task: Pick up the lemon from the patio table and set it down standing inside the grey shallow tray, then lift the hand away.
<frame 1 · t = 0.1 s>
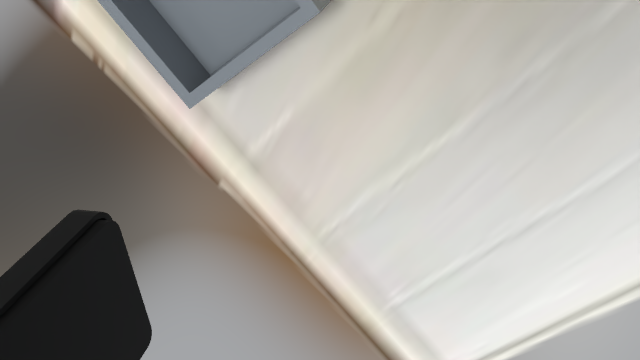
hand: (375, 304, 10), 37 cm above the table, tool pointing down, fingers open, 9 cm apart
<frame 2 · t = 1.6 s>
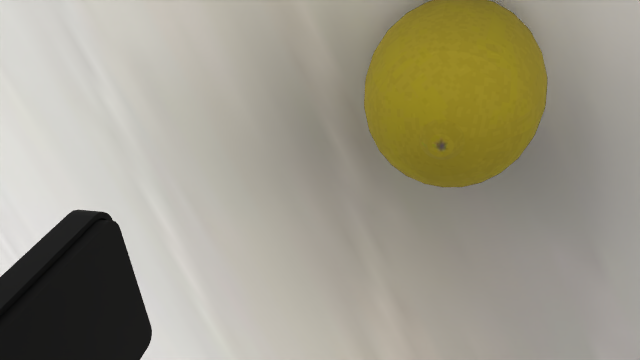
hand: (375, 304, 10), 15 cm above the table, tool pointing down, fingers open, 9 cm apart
lemon: (463, 47, 22), on the table
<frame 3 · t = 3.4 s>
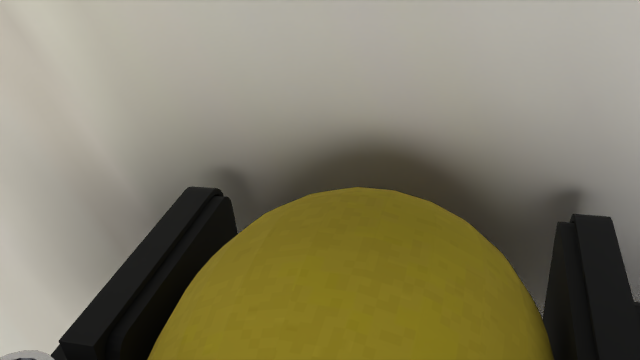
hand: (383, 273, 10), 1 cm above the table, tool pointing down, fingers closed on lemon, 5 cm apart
lemon: (395, 229, 12), on the table, touching gripper
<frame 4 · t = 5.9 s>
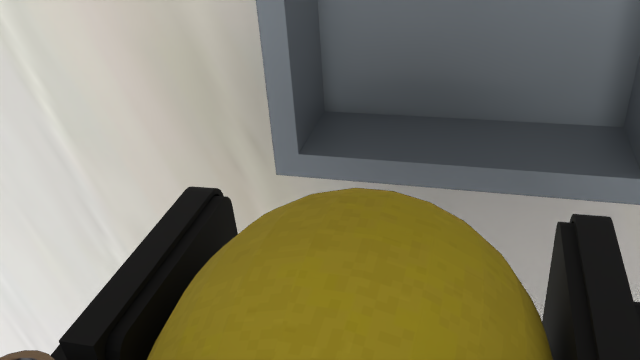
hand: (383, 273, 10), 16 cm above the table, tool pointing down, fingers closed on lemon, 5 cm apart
lemon: (394, 229, 12), point 14 cm above the table, touching gripper
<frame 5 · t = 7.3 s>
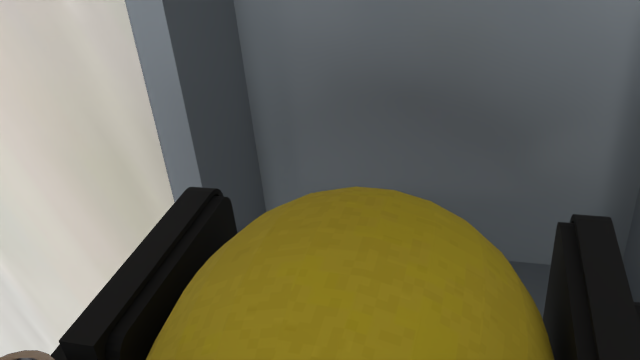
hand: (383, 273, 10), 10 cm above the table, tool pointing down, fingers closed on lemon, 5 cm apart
grey shallow tray: (437, 80, 18), on the table
lemon: (395, 228, 12), point 8 cm above the table, touching gripper
when the fingers open (4 cm above the table, at t = 8.6 s): lemon drops 2 cm, resting on grey shallow tray.
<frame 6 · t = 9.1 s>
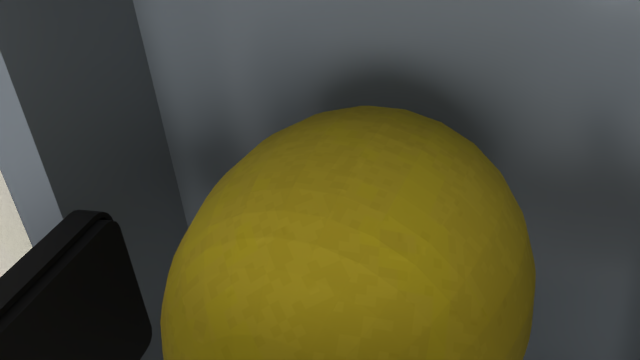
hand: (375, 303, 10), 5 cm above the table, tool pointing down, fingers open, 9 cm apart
grey shallow tray: (414, 152, 14), on the table
lemon: (413, 181, 13), point 1 cm above the table, touching grey shallow tray
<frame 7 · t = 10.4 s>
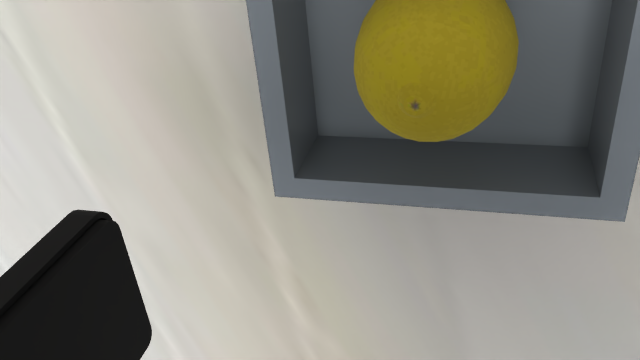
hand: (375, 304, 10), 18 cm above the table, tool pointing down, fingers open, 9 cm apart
grey shallow tray: (450, 2, 25), on the table
lemon: (451, 12, 24), point 1 cm above the table, touching grey shallow tray
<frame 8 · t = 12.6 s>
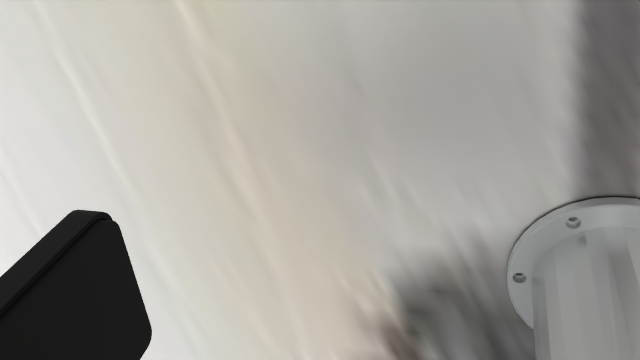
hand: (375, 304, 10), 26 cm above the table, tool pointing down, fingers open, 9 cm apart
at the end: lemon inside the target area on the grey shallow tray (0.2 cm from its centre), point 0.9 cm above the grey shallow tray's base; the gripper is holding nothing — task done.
